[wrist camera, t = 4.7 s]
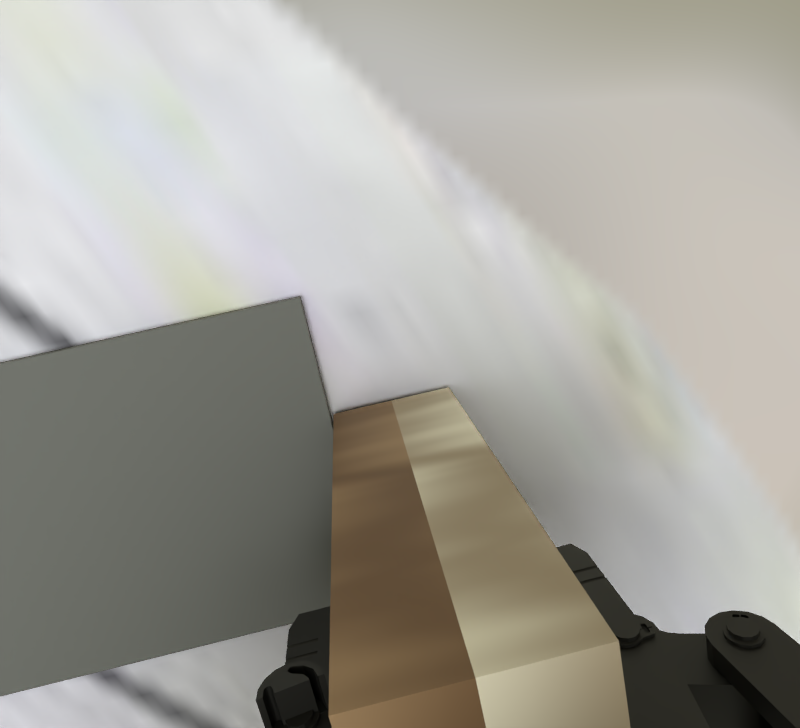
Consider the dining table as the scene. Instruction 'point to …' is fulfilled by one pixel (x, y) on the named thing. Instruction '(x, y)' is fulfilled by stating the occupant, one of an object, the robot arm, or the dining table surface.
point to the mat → (161, 493)
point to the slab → (453, 587)
